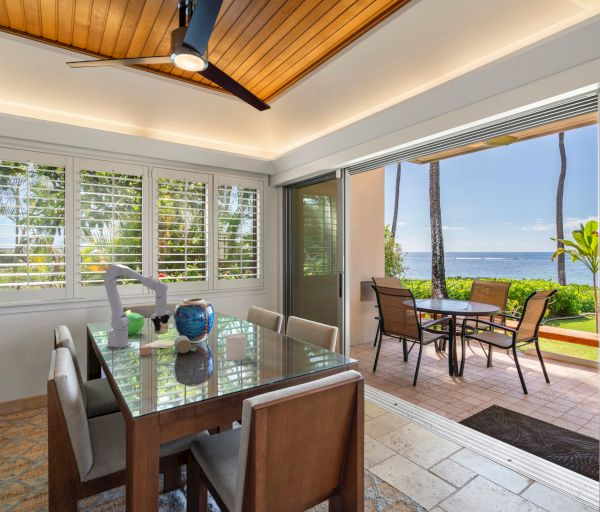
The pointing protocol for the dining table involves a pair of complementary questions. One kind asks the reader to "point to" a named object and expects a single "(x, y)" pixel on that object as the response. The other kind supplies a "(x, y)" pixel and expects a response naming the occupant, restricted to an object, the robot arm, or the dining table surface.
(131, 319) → the green rounded piece
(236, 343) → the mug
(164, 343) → the trivet
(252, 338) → the dining table surface
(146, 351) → the terracotta block
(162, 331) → the oak cube
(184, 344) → the ceramic mug
